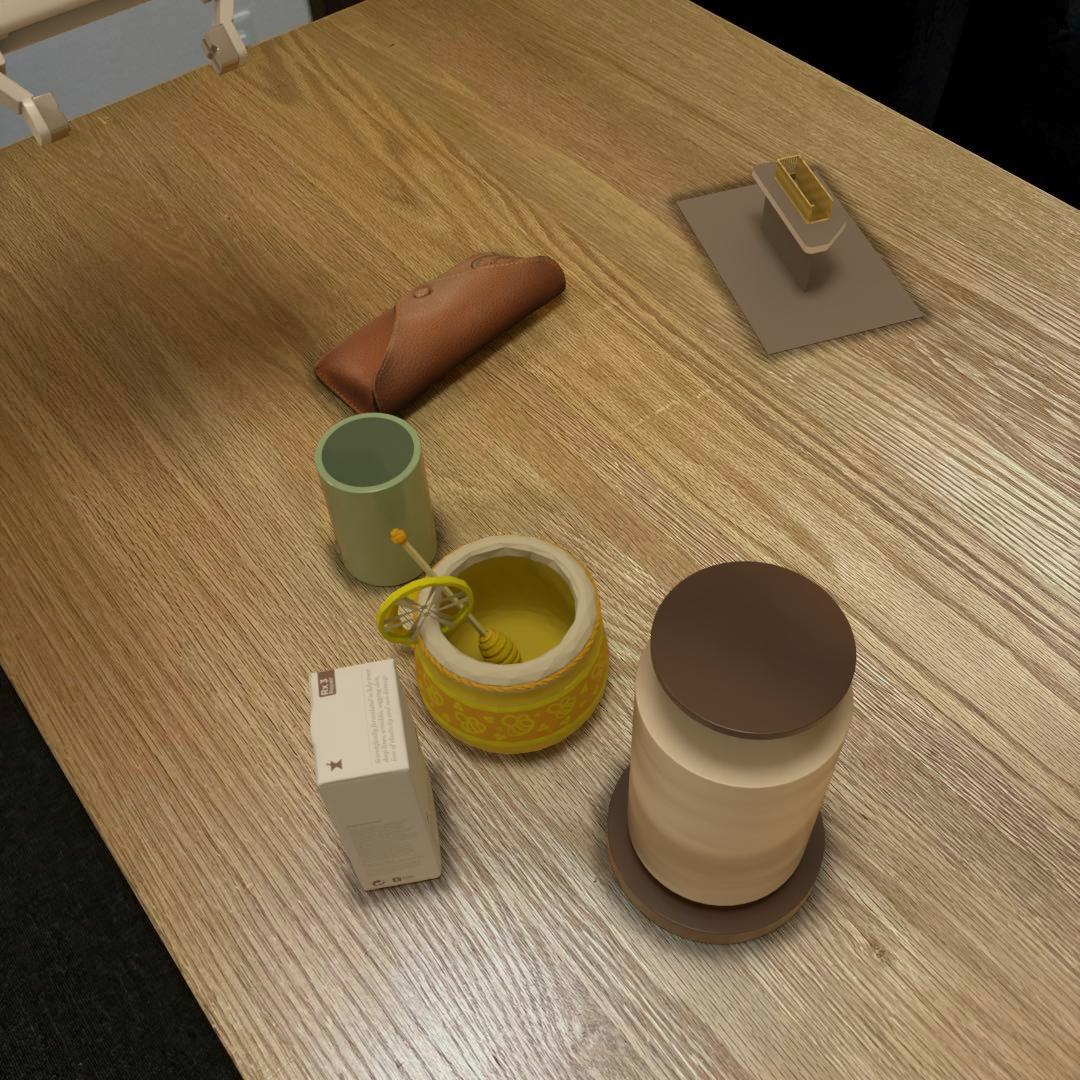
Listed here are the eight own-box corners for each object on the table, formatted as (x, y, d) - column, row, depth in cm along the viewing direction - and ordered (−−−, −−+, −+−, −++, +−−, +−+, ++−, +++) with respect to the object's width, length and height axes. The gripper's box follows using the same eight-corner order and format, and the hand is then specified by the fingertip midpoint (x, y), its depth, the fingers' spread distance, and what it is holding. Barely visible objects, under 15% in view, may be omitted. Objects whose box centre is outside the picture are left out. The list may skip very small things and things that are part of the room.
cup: (424, 593, 72) (405, 499, 65) (328, 579, 73) (300, 485, 65) (447, 516, 75) (432, 418, 68) (356, 503, 76) (332, 406, 69)
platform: (816, 170, 95) (829, 96, 90) (924, 316, 85) (946, 242, 79) (675, 201, 93) (680, 128, 88) (768, 354, 83) (780, 281, 78)
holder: (814, 963, 58) (893, 794, 43) (590, 922, 59) (590, 745, 44) (825, 760, 64) (898, 550, 49) (623, 728, 66) (634, 515, 51)
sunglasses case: (485, 243, 90) (514, 199, 84) (545, 315, 90) (577, 276, 84) (302, 371, 83) (319, 332, 77) (368, 449, 83) (390, 416, 77)
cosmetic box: (445, 878, 61) (418, 772, 51) (358, 895, 61) (314, 791, 51) (429, 770, 65) (402, 652, 55) (347, 785, 64) (305, 669, 55)
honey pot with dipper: (630, 624, 70) (637, 494, 60) (577, 789, 64) (575, 674, 54) (427, 574, 73) (402, 443, 63) (357, 728, 66) (318, 608, 57)
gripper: (-254, -152, 48) (-66, 166, 51) (198, -281, 55) (341, 5, 58) (-224, -80, 54) (-57, 202, 57) (181, -205, 61) (312, 52, 64)
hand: (147, 101), depth 58 cm, fingers open, 8 cm apart
